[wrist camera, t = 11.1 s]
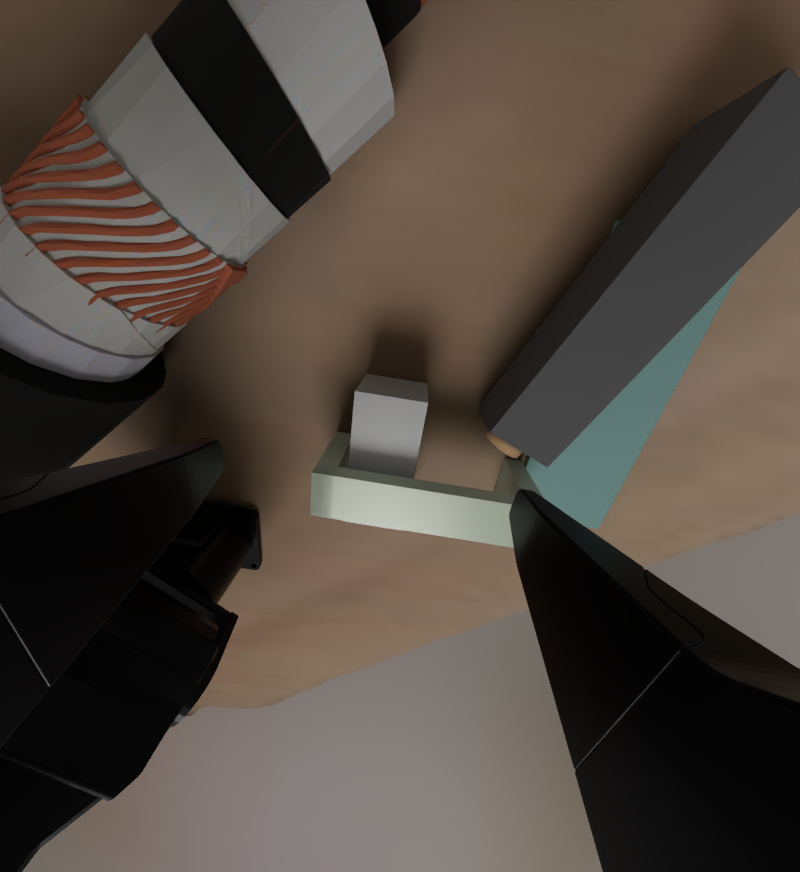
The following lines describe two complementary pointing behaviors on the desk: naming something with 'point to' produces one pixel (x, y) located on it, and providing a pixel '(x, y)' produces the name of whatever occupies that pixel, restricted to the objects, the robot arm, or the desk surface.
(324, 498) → the light grey piece
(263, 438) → the desk surface
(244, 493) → the desk surface
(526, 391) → the dark gray bar
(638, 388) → the mat
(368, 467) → the block
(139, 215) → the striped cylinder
